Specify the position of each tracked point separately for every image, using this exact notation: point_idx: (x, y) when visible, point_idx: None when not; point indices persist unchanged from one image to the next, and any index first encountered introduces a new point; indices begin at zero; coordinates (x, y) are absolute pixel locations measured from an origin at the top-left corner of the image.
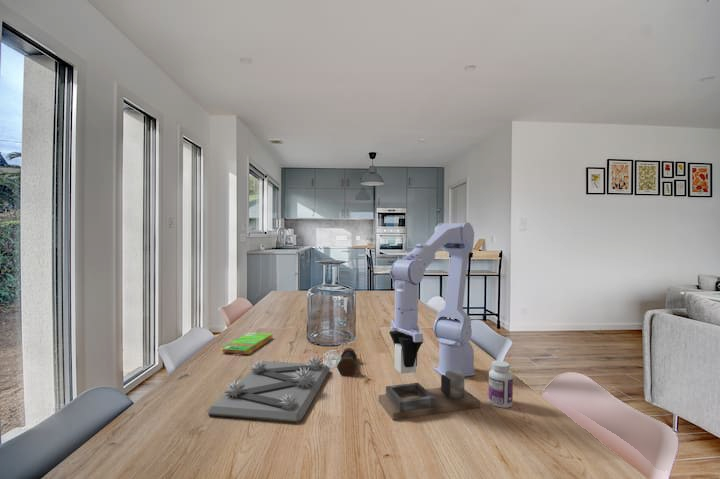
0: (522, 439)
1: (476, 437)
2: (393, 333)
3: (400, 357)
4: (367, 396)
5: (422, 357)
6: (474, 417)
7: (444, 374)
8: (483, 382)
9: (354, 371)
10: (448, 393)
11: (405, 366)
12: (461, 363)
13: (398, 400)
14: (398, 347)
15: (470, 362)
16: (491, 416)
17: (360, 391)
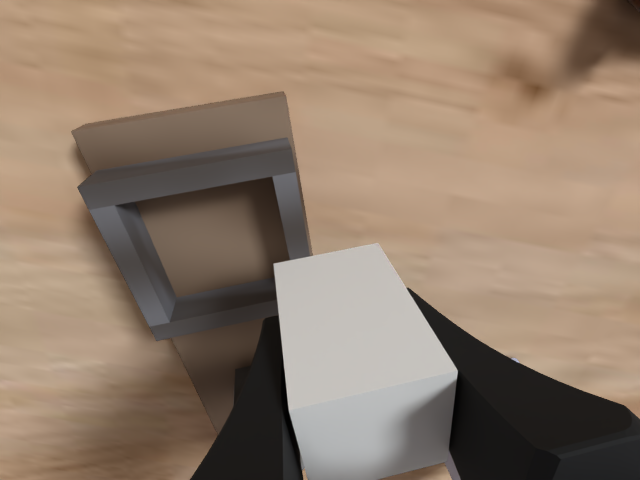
0: (35, 458)
1: (13, 374)
2: (553, 473)
3: (290, 336)
4: (346, 38)
5: (619, 342)
6: (151, 393)
7: None
8: None
9: (635, 6)
10: (235, 380)
11: (265, 320)
12: (450, 454)
13: (101, 183)
14: (355, 386)
15: (451, 472)
16: (162, 428)
17: (412, 6)
